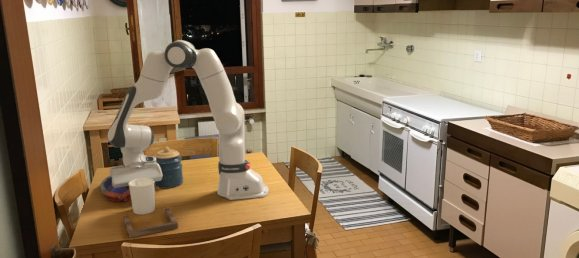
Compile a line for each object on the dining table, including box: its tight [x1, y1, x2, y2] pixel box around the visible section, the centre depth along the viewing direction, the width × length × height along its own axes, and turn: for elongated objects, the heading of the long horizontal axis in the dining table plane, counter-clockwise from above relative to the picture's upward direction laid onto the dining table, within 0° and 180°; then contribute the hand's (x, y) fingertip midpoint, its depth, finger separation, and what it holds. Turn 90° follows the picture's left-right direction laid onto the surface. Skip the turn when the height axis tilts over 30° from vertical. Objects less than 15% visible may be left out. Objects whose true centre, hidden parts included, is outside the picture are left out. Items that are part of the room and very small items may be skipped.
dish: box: [99, 174, 131, 202], centre depth 206 cm, size 16×31×5 cm, turn 21°
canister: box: [153, 146, 184, 189], centre depth 214 cm, size 13×13×18 cm
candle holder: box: [129, 178, 156, 215], centre depth 186 cm, size 10×10×12 cm
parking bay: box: [123, 207, 179, 239], centre depth 174 cm, size 16×17×2 cm
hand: (140, 192), depth 192 cm, fingers closed
